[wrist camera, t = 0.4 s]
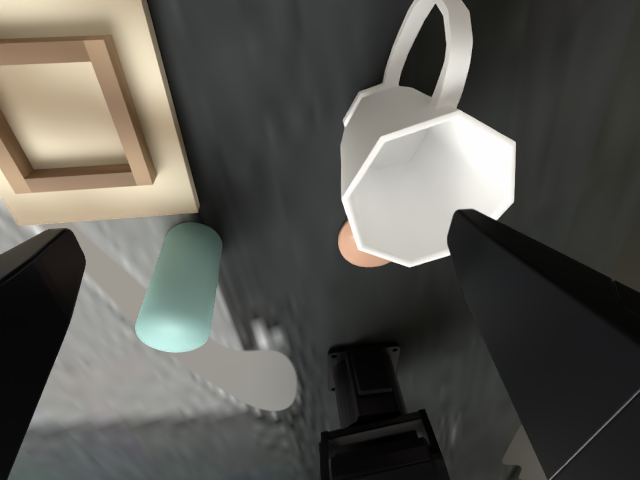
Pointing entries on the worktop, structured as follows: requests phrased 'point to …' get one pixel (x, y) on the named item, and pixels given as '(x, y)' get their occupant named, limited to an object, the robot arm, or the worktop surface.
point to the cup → (421, 152)
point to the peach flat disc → (356, 249)
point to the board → (87, 115)
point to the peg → (182, 290)
